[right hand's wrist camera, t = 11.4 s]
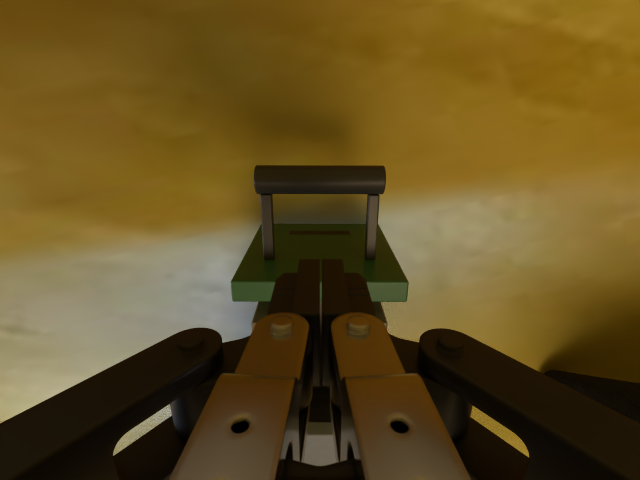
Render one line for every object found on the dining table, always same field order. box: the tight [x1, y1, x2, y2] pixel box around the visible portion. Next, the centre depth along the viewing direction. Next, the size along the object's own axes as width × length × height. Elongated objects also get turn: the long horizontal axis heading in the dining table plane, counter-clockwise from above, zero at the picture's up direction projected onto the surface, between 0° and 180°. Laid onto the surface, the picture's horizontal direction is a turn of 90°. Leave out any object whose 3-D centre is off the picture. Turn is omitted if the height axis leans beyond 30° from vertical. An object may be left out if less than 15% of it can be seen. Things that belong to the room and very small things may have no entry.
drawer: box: [231, 165, 409, 422], centre depth 24 cm, size 21×9×10 cm, turn 0°
